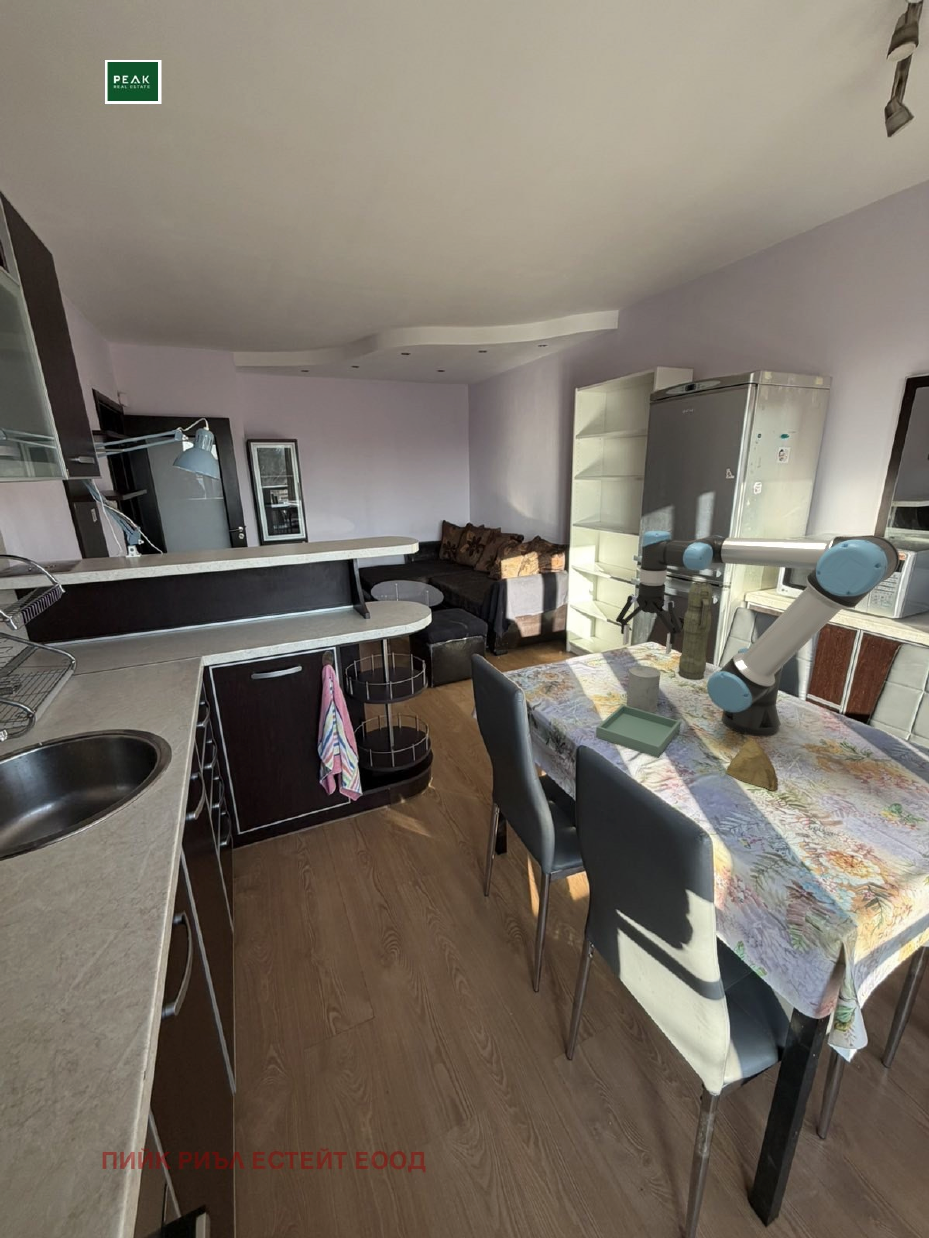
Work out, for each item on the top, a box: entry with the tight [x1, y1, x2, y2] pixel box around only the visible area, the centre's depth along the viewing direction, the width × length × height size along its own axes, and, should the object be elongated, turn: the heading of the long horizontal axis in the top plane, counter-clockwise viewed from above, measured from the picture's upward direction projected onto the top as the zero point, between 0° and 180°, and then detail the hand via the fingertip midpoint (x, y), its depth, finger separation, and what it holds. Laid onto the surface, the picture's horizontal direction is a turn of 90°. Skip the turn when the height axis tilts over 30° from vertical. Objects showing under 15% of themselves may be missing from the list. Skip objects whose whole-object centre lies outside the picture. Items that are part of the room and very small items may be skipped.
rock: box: [724, 738, 779, 791], centre depth 125 cm, size 11×9×10 cm
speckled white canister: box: [625, 665, 661, 713], centre depth 164 cm, size 10×10×12 cm
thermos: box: [678, 581, 714, 681], centre depth 183 cm, size 9×12×35 cm
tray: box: [595, 704, 681, 759], centre depth 149 cm, size 18×18×3 cm
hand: (646, 648), depth 160 cm, fingers open, 13 cm apart
